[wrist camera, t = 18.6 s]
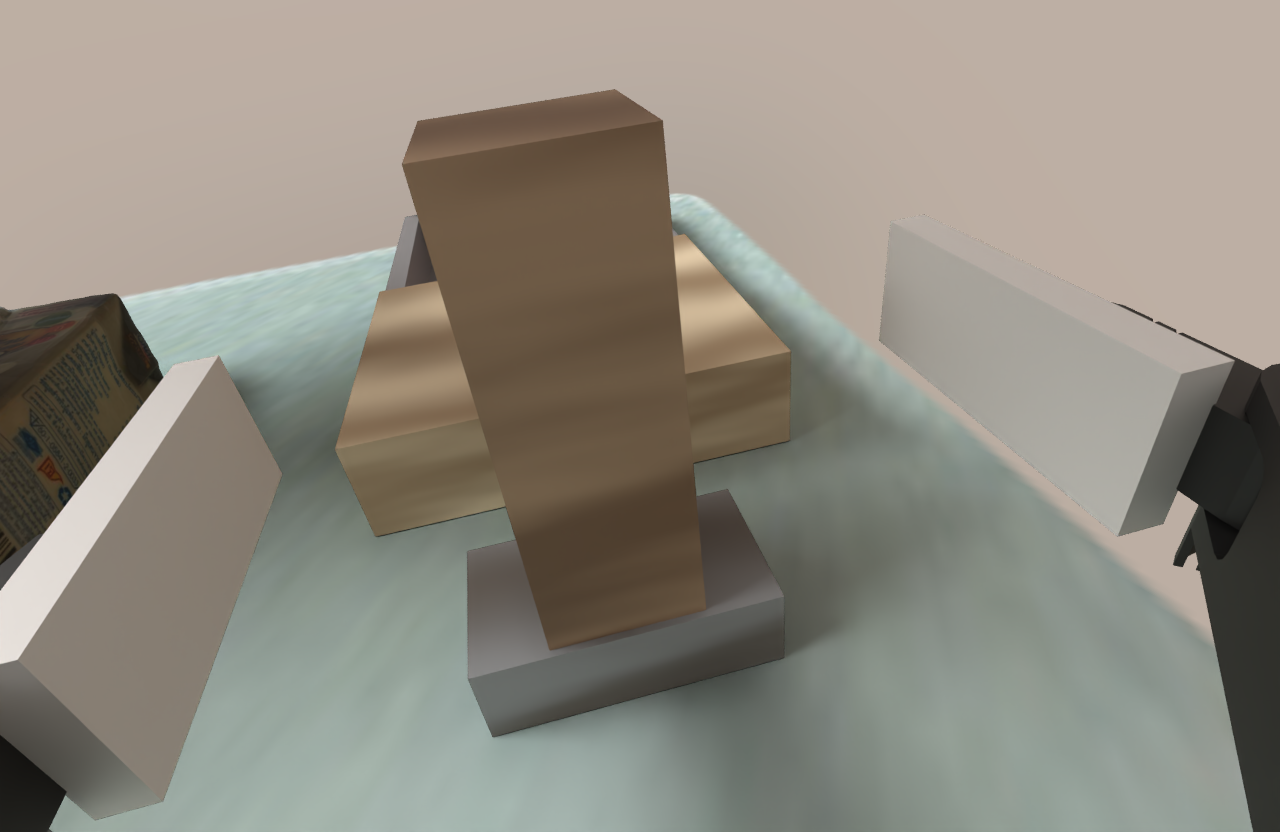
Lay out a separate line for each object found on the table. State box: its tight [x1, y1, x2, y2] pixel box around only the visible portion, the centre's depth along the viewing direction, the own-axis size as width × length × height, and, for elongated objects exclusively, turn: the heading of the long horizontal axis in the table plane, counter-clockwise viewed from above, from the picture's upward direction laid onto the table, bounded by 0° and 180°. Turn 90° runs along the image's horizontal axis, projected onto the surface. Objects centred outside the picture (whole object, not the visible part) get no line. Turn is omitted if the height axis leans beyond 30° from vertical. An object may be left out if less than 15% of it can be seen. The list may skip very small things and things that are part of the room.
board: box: [335, 234, 791, 537], centre depth 30 cm, size 14×16×4 cm
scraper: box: [402, 89, 785, 737], centre depth 16 cm, size 4×8×14 cm, turn 103°
